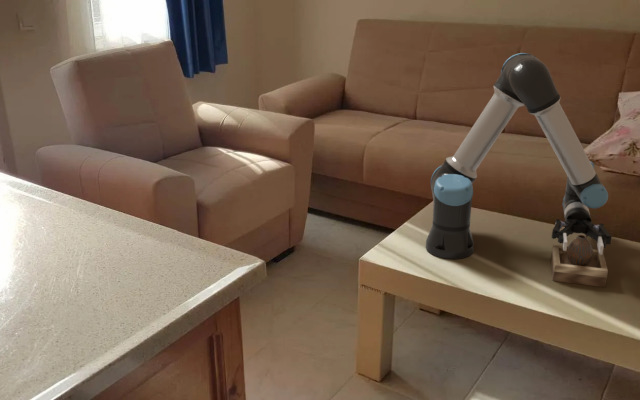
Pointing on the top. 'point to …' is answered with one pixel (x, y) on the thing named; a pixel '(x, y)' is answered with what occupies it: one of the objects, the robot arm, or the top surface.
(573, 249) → the vase
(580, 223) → the robot arm
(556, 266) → the square wooden tray
